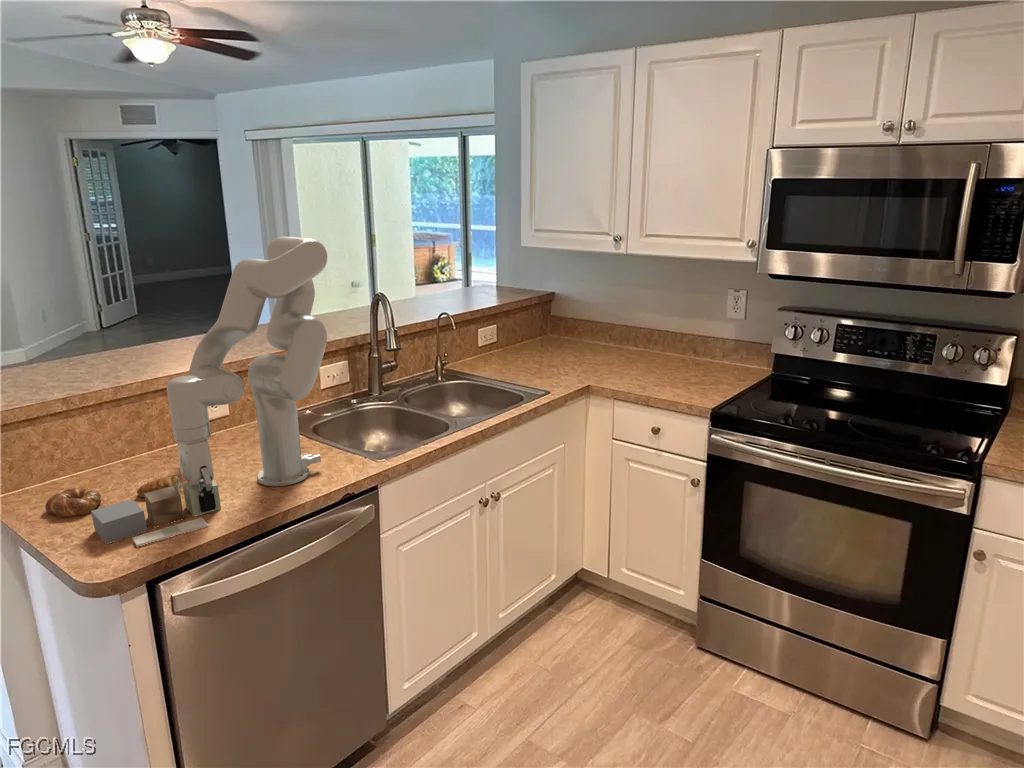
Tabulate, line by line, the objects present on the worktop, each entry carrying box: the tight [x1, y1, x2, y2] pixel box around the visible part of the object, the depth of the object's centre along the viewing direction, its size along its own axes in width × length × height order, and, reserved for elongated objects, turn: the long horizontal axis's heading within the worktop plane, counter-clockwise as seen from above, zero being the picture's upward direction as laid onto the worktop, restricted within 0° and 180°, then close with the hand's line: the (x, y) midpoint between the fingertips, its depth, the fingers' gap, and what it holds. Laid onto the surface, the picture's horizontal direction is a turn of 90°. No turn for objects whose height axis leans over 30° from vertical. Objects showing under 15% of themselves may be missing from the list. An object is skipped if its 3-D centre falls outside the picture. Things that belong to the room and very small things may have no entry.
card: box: [131, 517, 209, 547], centre depth 150 cm, size 14×4×1 cm, turn 129°
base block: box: [90, 498, 148, 545], centre depth 151 cm, size 8×8×5 cm
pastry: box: [136, 475, 182, 499], centre depth 169 cm, size 9×7×4 cm
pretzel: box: [44, 487, 102, 518], centre depth 162 cm, size 12×11×4 cm
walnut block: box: [144, 486, 185, 528], centre depth 156 cm, size 6×6×6 cm
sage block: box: [181, 479, 222, 517], centre depth 161 cm, size 6×6×6 cm
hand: (202, 503), depth 161 cm, fingers open, 7 cm apart
